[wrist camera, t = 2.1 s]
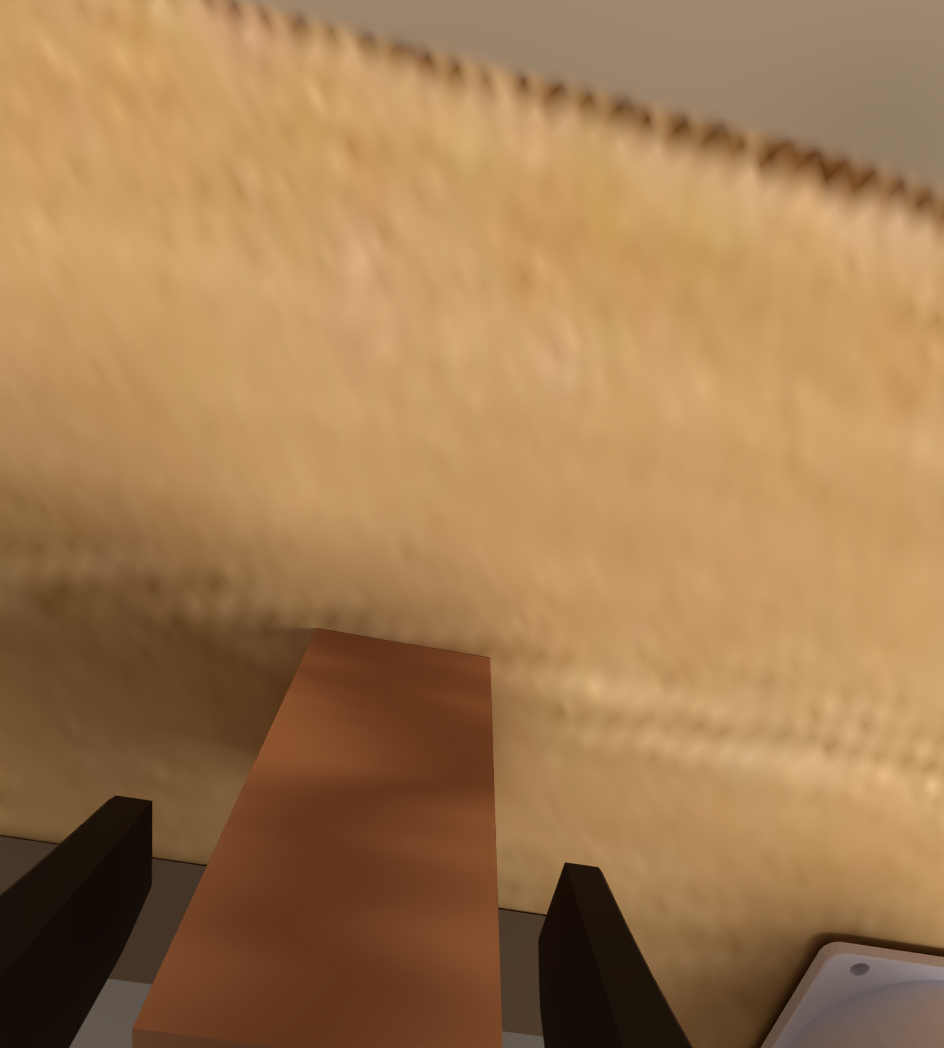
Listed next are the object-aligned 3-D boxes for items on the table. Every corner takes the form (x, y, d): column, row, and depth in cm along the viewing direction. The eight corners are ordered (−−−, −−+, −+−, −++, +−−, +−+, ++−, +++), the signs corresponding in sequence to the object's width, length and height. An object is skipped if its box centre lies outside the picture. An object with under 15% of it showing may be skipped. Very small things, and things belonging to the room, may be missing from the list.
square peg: (489, 657, 14) (503, 1076, 7) (457, 789, 16) (439, 1250, 8) (316, 628, 14) (132, 1028, 6) (300, 764, 15) (134, 1218, 8)
